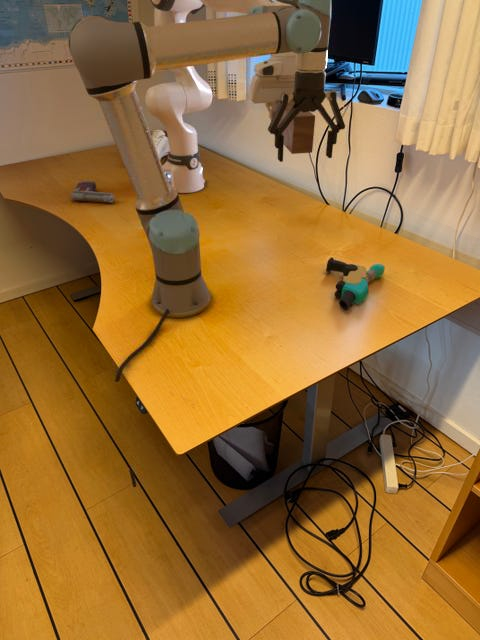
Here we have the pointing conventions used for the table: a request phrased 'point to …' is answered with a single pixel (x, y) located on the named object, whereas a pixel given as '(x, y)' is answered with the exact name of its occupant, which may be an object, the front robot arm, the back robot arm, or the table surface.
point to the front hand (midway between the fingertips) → (304, 158)
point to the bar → (298, 130)
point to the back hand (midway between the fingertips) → (283, 117)
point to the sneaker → (161, 142)
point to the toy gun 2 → (353, 281)
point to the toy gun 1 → (90, 193)
